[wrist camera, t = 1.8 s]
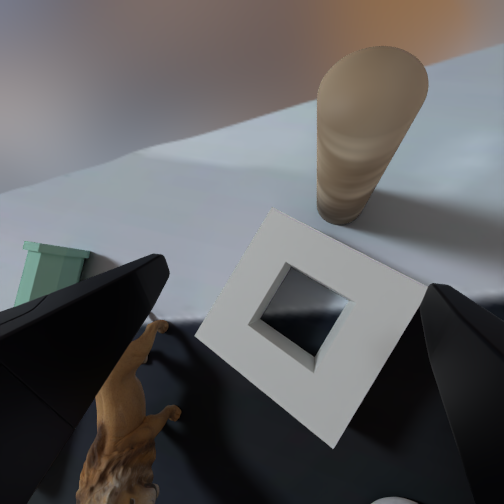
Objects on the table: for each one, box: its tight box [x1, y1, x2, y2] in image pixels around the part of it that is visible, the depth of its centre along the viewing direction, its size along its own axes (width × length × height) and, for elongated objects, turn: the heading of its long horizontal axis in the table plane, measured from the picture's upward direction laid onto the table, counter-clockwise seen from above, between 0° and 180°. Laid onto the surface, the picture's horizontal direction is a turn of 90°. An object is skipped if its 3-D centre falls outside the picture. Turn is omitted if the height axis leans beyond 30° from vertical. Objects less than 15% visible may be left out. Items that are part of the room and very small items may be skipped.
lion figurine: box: [76, 320, 181, 504], centre depth 19 cm, size 15×5×9 cm, turn 21°
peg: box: [317, 46, 428, 225], centre depth 15 cm, size 4×4×12 cm
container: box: [14, 241, 90, 307], centre depth 25 cm, size 6×6×25 cm
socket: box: [195, 207, 428, 449], centre depth 19 cm, size 12×12×4 cm
